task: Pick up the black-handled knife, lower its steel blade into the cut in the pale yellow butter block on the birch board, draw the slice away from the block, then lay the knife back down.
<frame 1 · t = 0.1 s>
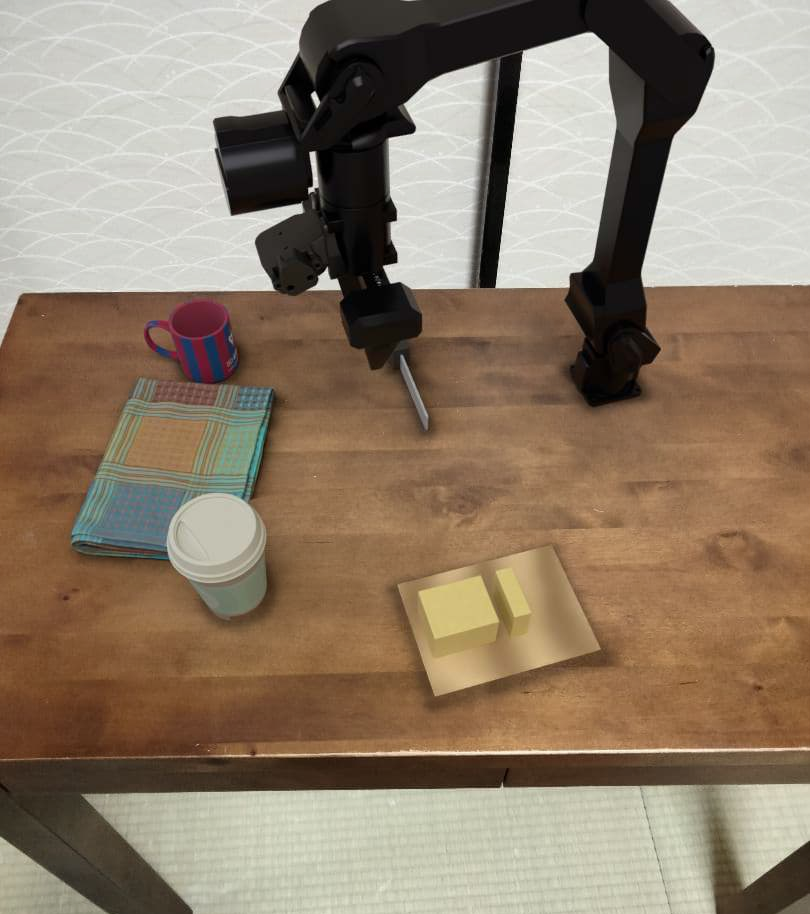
hand: (363, 335, 78), 15 cm above the table, tool pointing down, fingers open, 9 cm apart
butter slice: (508, 612, 77), point 1 cm above the table, touching board
dish towel: (182, 472, 88), on the table, touching coffee cup
knife: (393, 348, 98), on the table
butter block: (456, 626, 76), point 1 cm above the table, touching board
board: (495, 623, 78), on the table
coffee cup: (237, 596, 80), on the table, touching dish towel
cup: (197, 363, 97), on the table
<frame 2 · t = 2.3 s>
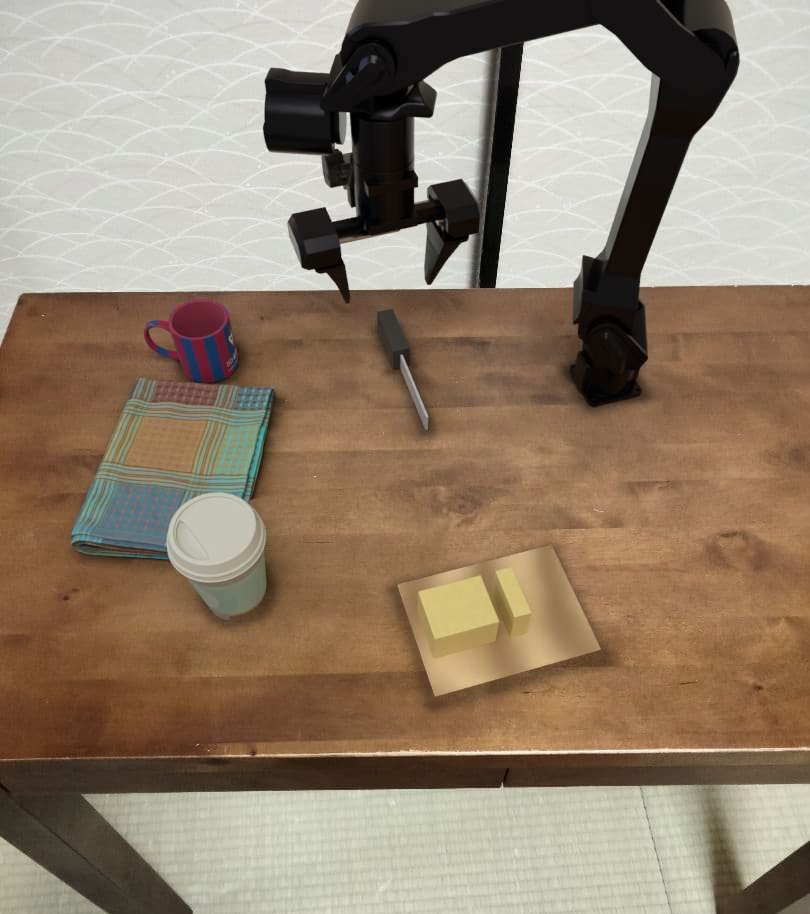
hand: (387, 291, 88), 11 cm above the table, tool pointing down, fingers open, 9 cm apart
nothing on the table moved.
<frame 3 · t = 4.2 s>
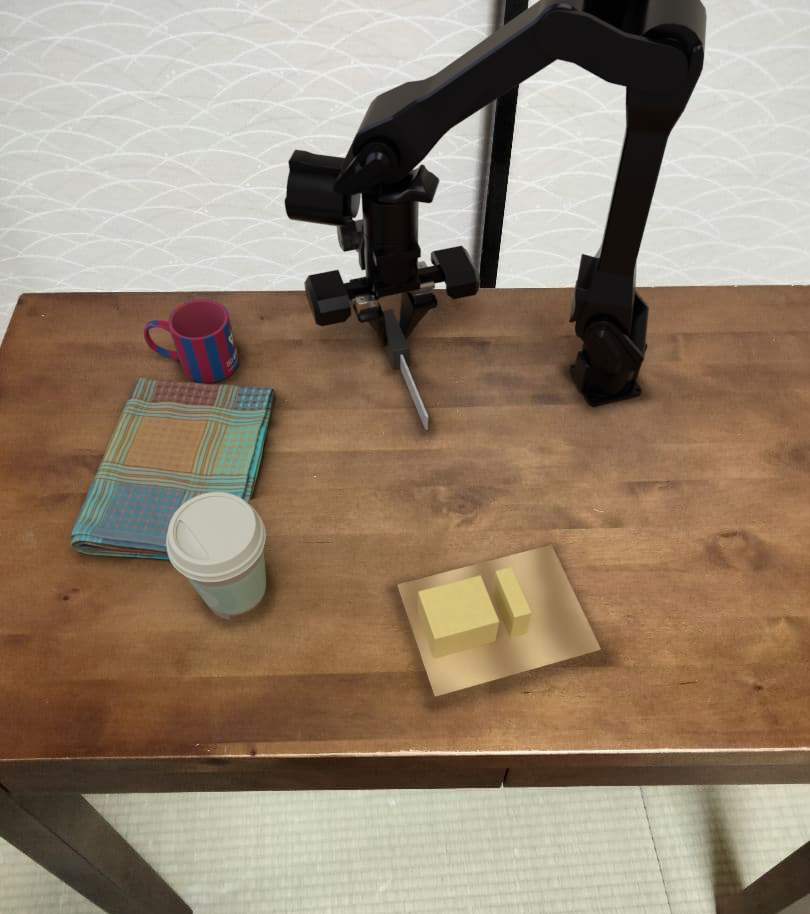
hand: (393, 342, 97), 1 cm above the table, tool pointing down, fingers closed on knife, 2 cm apart
knife: (393, 348, 98), on the table, touching gripper
everything else where it was.
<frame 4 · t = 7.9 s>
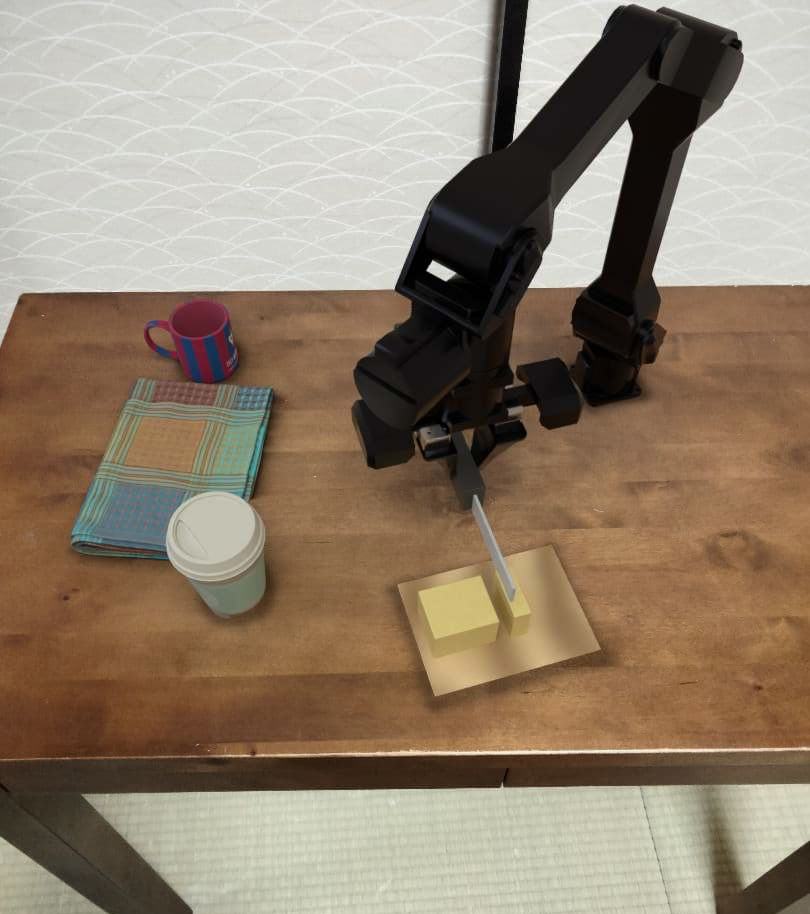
hand: (461, 473, 75), 10 cm above the table, tool pointing down, fingers closed on knife
knife: (460, 479, 76), point 9 cm above the table, touching gripper
everything else where it was.
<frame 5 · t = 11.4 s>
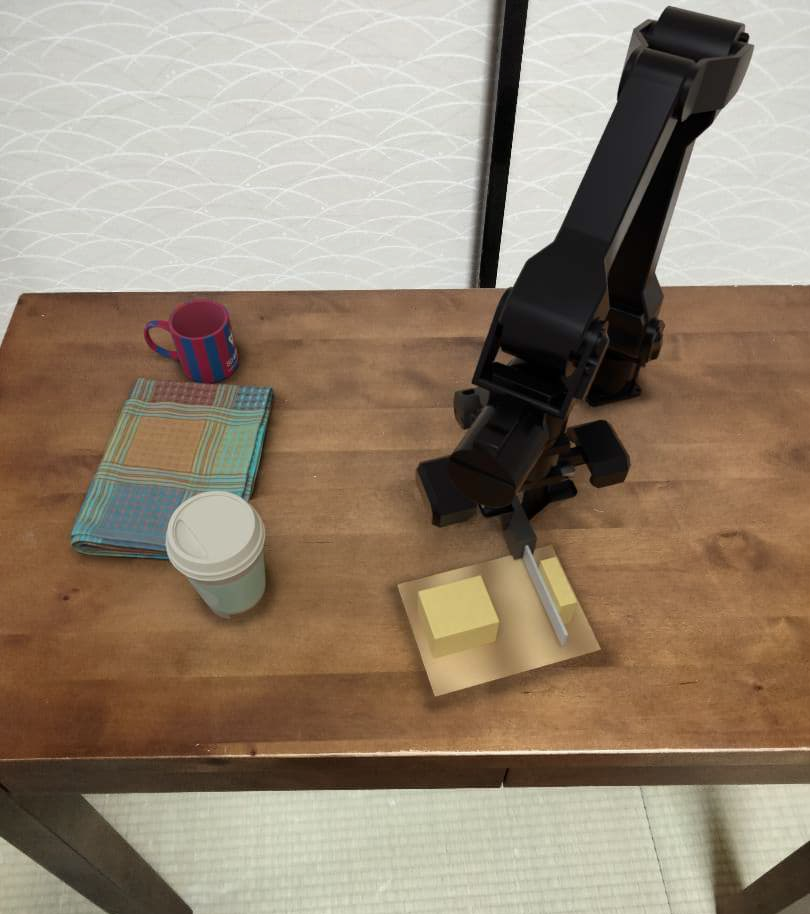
hand: (512, 524, 80), 3 cm above the table, tool pointing down, fingers closed on knife, 2 cm apart
butter slice: (551, 602, 77), point 2 cm above the table
knife: (511, 529, 81), point 2 cm above the table, touching gripper
everything else where it was.
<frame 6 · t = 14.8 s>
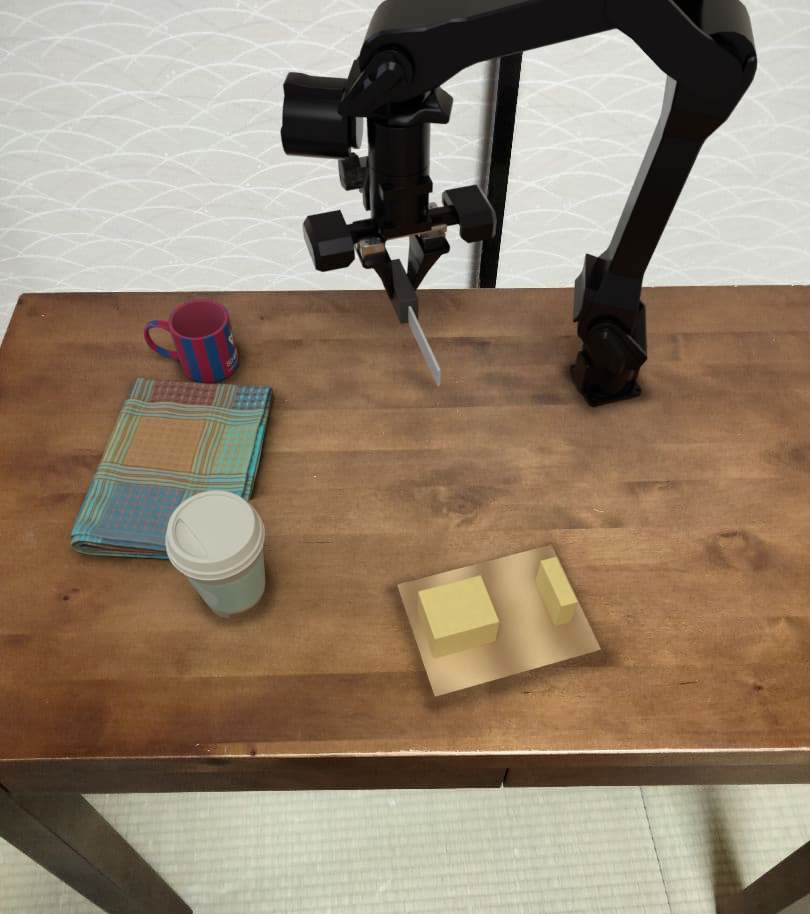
hand: (400, 294, 88), 10 cm above the table, tool pointing down, fingers closed on knife
butter slice: (552, 602, 77), point 1 cm above the table, touching board
knife: (400, 302, 89), point 9 cm above the table, touching gripper
everything else where it was.
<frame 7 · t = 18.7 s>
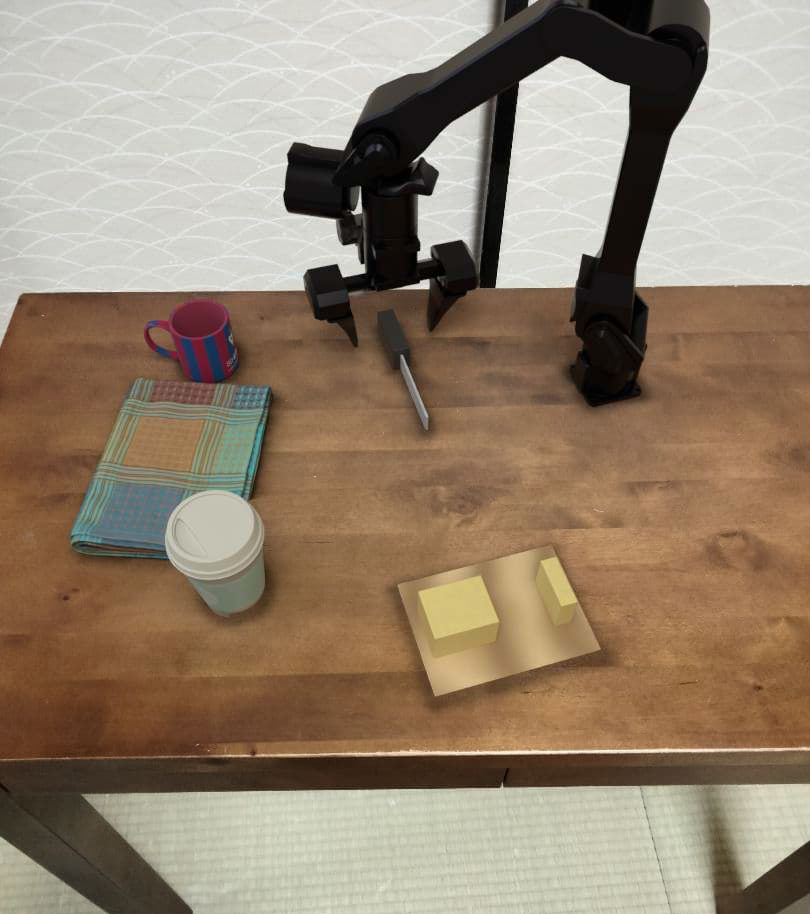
hand: (392, 337, 97), 2 cm above the table, tool pointing down, fingers open, 9 cm apart
knife: (393, 348, 98), on the table
everything else where it was.
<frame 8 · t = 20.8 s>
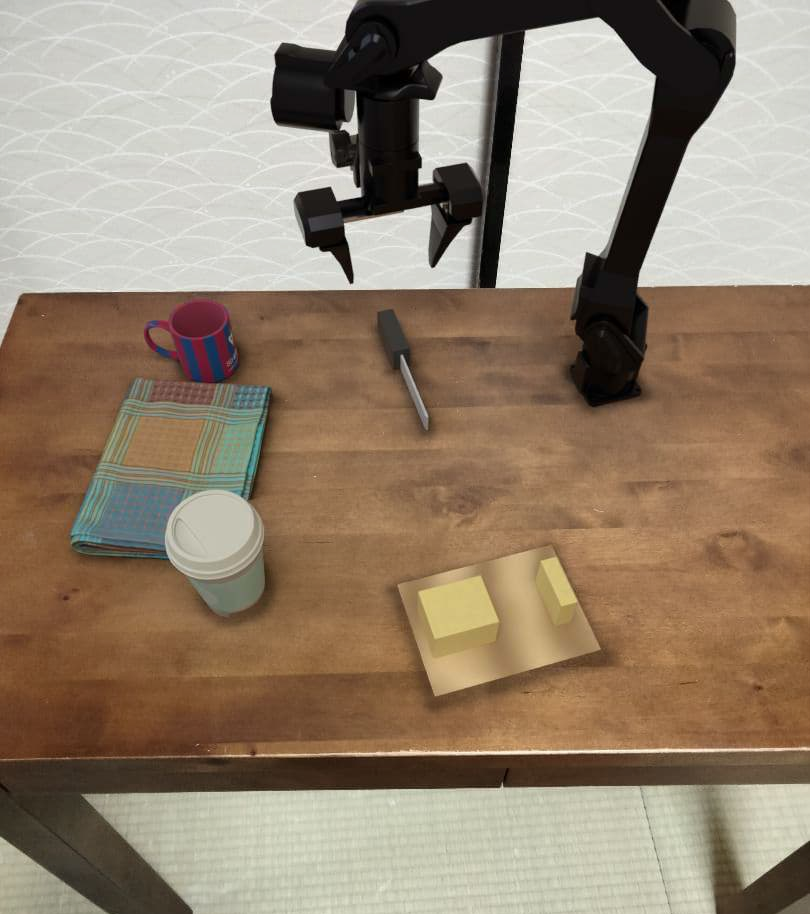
hand: (391, 273, 89), 11 cm above the table, tool pointing down, fingers open, 9 cm apart
nothing on the table moved.
at the end: butter slice moved 4.4 cm from its start; butter block moved 0.0 cm from its start; the gripper is holding nothing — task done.
